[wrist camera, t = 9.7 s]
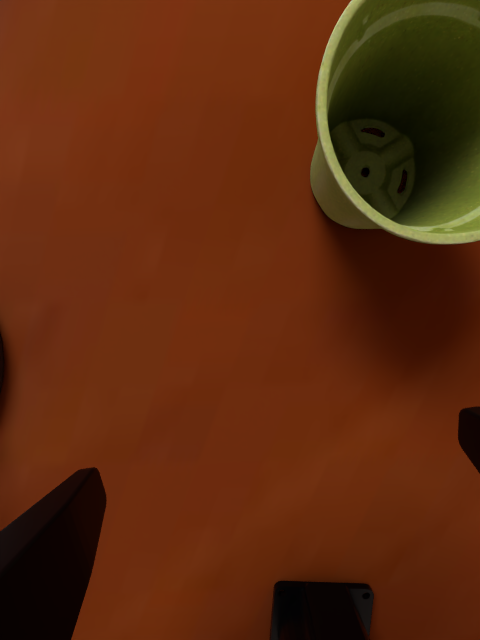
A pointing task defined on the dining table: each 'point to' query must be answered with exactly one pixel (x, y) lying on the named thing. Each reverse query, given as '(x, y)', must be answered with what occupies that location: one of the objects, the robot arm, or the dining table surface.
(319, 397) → the dining table surface
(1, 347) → the plate
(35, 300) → the dining table surface
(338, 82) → the plant pot
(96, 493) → the robot arm
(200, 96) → the dining table surface
